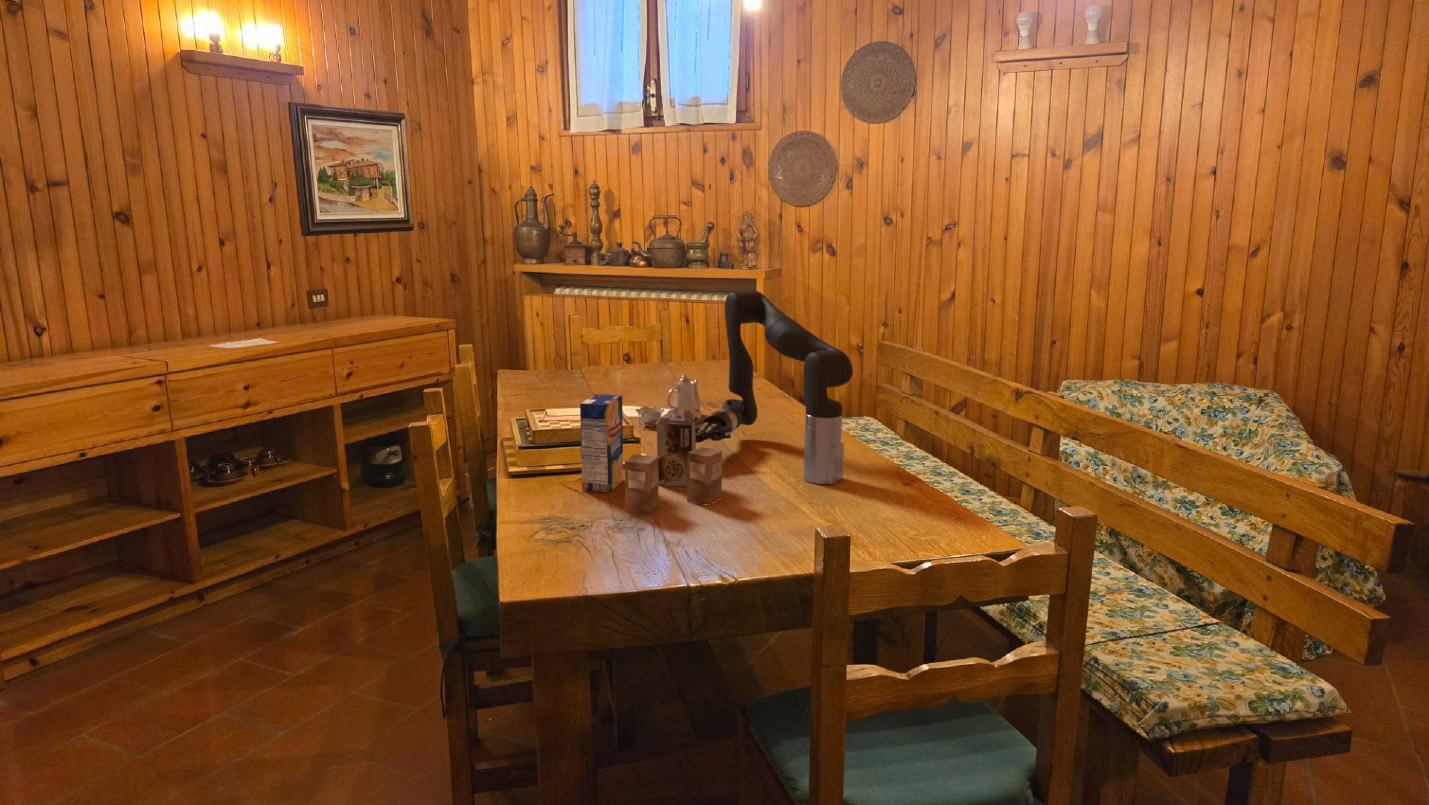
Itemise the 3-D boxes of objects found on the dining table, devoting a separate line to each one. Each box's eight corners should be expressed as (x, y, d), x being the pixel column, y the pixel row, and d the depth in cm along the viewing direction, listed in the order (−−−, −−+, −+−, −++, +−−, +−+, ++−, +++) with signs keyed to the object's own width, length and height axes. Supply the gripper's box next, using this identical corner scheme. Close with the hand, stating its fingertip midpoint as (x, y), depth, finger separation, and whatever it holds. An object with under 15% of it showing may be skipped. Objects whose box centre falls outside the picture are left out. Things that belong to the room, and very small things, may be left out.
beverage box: (581, 491, 229) (579, 403, 224) (597, 478, 239) (596, 393, 234) (608, 493, 227) (607, 405, 222) (623, 480, 237) (622, 395, 233)
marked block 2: (722, 499, 224) (723, 450, 221) (709, 506, 219) (709, 457, 216) (700, 494, 227) (700, 446, 224) (686, 501, 222) (686, 453, 219)
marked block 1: (660, 506, 219) (659, 456, 216) (651, 515, 213) (650, 464, 210) (634, 503, 220) (633, 454, 218) (624, 512, 214) (623, 461, 212)
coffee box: (696, 479, 239) (696, 418, 235) (692, 487, 232) (692, 424, 229) (661, 477, 240) (661, 416, 236) (656, 485, 234) (656, 422, 230)
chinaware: (685, 415, 312) (681, 366, 310) (725, 418, 302) (721, 367, 300) (629, 432, 290) (624, 379, 288) (671, 435, 280) (666, 381, 278)
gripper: (698, 409, 262) (673, 422, 246) (742, 413, 258) (721, 427, 242) (698, 435, 264) (674, 450, 248) (742, 439, 259) (721, 455, 243)
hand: (697, 438), depth 245 cm, fingers closed
